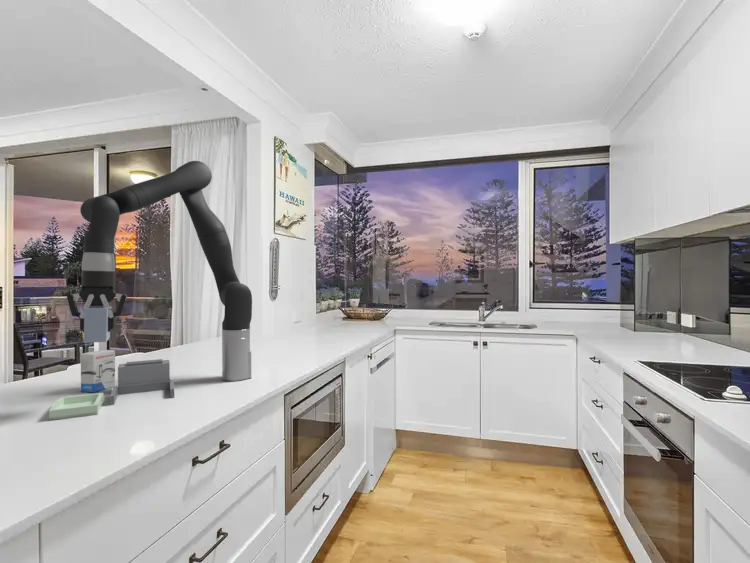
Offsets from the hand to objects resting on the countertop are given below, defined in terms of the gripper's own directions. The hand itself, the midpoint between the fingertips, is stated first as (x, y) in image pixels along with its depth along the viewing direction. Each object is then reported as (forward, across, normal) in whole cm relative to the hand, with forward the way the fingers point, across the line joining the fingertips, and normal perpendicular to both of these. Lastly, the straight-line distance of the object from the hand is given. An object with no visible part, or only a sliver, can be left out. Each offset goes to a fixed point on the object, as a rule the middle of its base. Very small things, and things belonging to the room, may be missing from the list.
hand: (97, 331), depth 114 cm
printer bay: (+20, -11, -8) cm, 24 cm away
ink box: (+21, +2, -21) cm, 29 cm away
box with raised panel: (+2, 0, 0) cm, 2 cm away
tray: (+21, +4, +2) cm, 21 cm away
